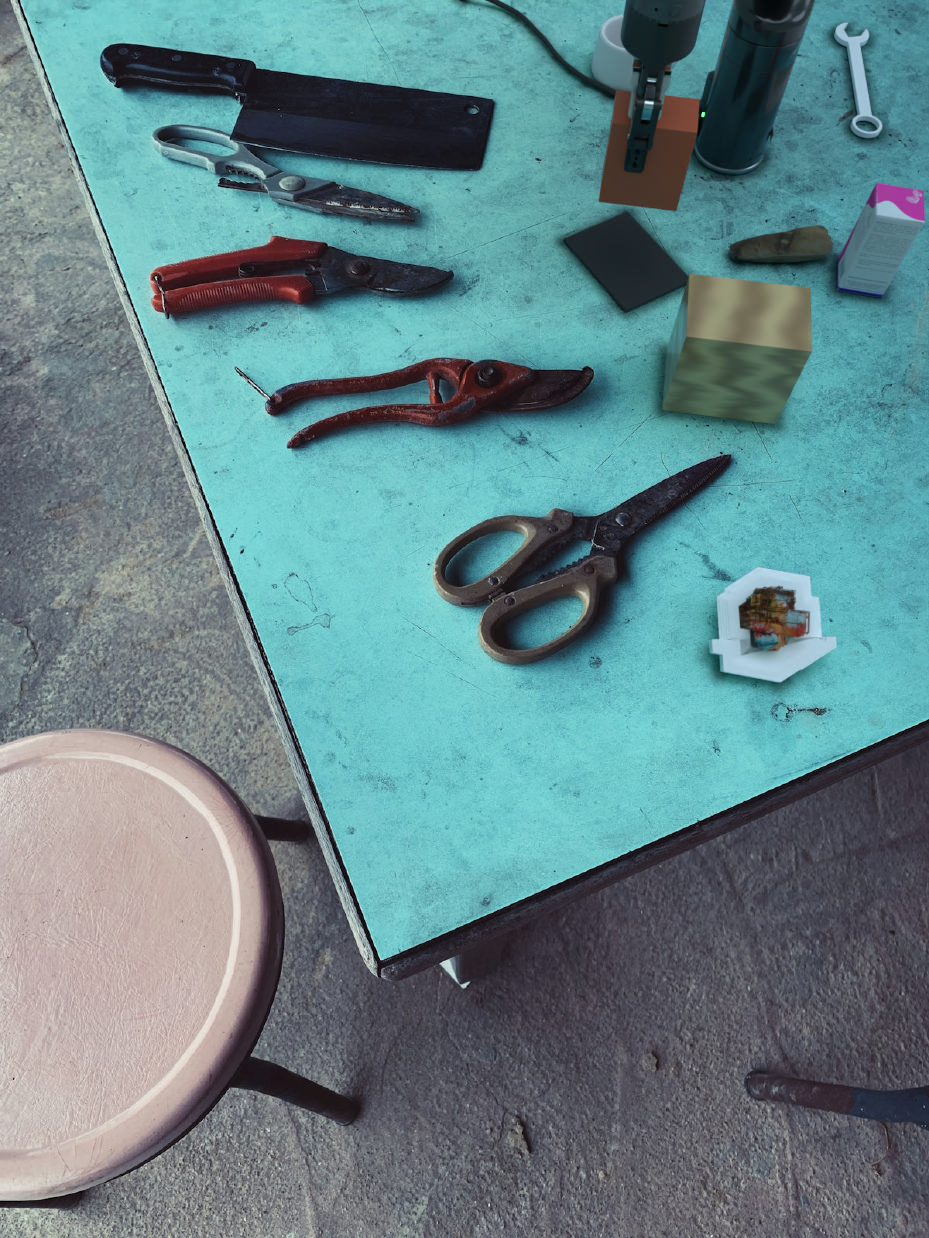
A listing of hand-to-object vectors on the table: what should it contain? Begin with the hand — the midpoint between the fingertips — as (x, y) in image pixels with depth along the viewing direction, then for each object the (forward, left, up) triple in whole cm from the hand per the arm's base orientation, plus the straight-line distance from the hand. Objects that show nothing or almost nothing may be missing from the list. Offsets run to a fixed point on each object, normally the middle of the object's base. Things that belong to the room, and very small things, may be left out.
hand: (635, 150), depth 103 cm
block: (+4, +4, 0) cm, 6 cm away
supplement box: (+18, +25, -16) cm, 35 cm away
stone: (+9, +19, -16) cm, 26 cm away
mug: (-29, +23, -16) cm, 40 cm away
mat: (+1, +1, -16) cm, 16 cm away
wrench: (-12, +51, -16) cm, 54 cm away
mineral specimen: (+51, -17, -16) cm, 56 cm away
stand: (+23, -1, -16) cm, 28 cm away
